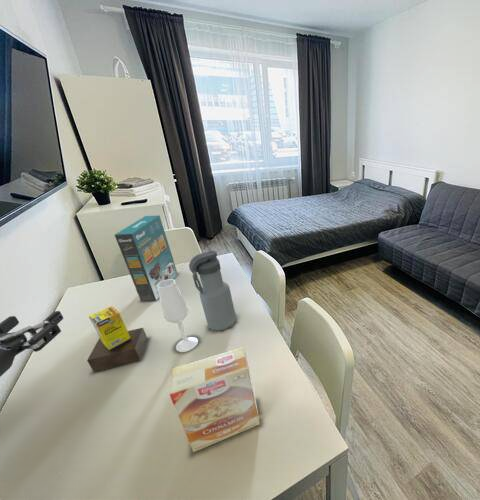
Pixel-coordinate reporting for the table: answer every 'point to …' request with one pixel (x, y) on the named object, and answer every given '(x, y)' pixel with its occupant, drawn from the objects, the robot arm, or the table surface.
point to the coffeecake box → (214, 398)
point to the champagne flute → (175, 311)
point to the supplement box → (110, 328)
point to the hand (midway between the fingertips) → (37, 316)
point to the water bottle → (213, 291)
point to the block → (118, 352)
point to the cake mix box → (147, 255)
